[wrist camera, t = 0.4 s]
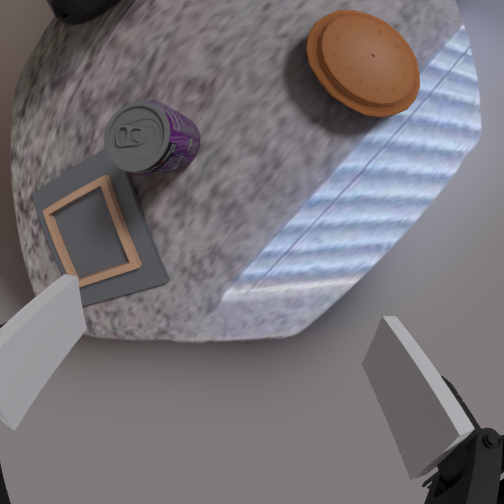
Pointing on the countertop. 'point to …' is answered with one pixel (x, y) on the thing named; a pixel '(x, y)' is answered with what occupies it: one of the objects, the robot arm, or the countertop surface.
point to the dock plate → (99, 231)
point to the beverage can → (150, 139)
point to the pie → (363, 63)
